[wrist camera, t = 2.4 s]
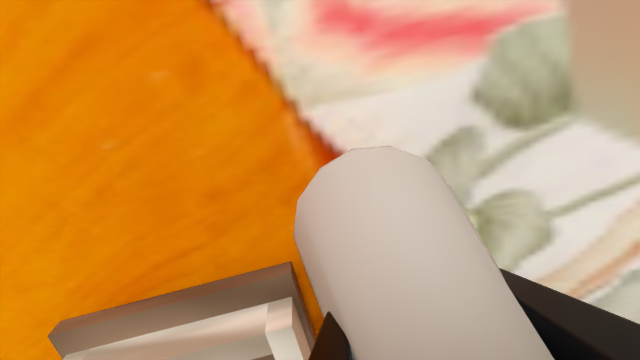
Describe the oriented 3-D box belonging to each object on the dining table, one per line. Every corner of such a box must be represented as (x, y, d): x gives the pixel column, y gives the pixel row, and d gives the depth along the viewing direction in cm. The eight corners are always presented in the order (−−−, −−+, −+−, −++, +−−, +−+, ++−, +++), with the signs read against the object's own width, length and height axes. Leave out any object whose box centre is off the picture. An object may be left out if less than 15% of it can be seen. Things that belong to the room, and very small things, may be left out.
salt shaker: (300, 266, 16) (320, 1054, 3) (286, 140, 14) (207, 877, 1) (429, 253, 16) (907, 939, 3) (434, 127, 14) (1516, 651, 2)
